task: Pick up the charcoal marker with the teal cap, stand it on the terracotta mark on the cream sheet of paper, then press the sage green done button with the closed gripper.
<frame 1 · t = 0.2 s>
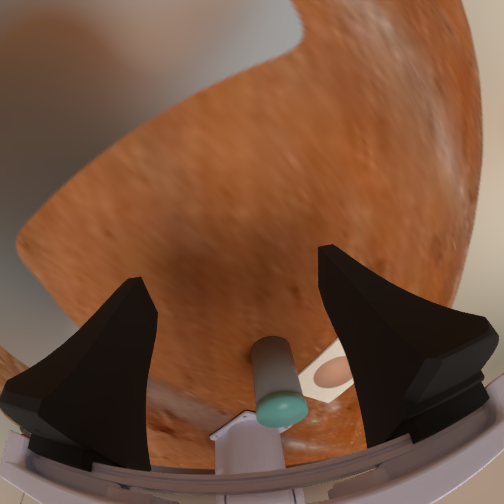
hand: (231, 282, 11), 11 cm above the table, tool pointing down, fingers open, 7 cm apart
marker: (270, 350, 26), on the table
paper: (335, 371, 29), on the table
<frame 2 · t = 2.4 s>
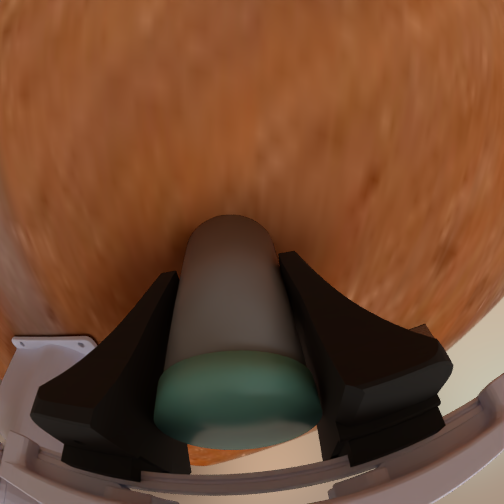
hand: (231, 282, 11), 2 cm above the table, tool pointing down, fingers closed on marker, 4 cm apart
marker: (230, 255, 13), on the table, touching gripper
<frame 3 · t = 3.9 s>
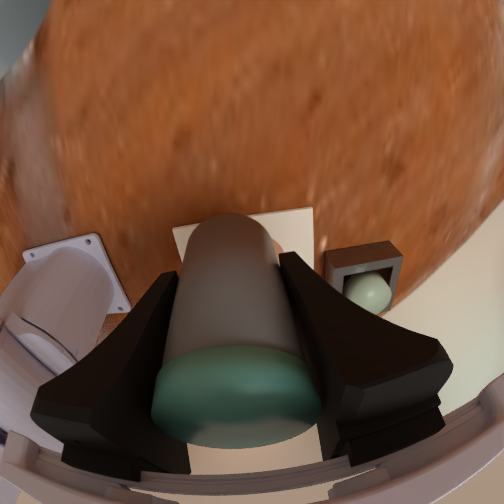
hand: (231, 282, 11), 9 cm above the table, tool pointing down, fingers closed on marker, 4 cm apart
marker: (230, 254, 13), point 7 cm above the table, touching gripper
button: (367, 293, 21), point 3 cm above the table, slide at 0.0 cm
paper: (249, 263, 21), on the table
button base: (355, 274, 23), on the table
when the fingers open (4 cm above the table, at t = 5.6 s): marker drops 1 cm, resting on paper.
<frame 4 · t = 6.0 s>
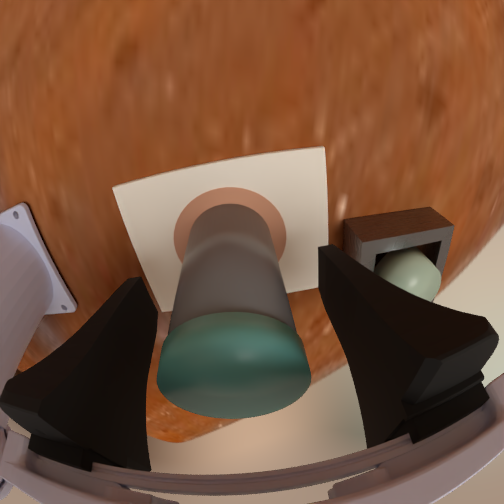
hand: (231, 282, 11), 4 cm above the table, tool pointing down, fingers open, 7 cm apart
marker: (229, 241, 13), resting on paper
button: (406, 282, 13), point 3 cm above the table, slide at 0.0 cm
paper: (229, 238, 14), on the table
button base: (386, 256, 15), on the table
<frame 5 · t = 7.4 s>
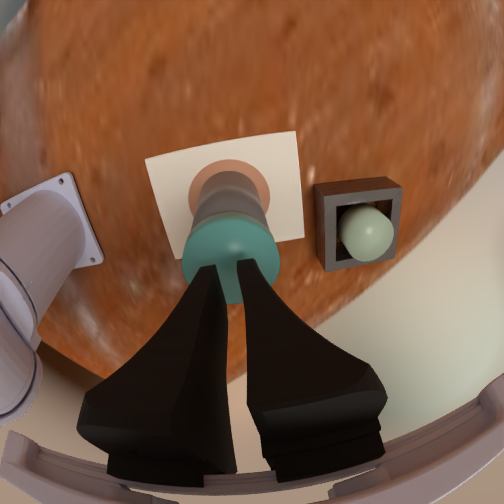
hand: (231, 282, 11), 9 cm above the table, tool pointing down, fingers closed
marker: (229, 198, 18), resting on paper
button: (365, 232, 18), point 3 cm above the table, slide at 0.0 cm
paper: (229, 197, 19), on the table
button base: (351, 216, 20), on the table
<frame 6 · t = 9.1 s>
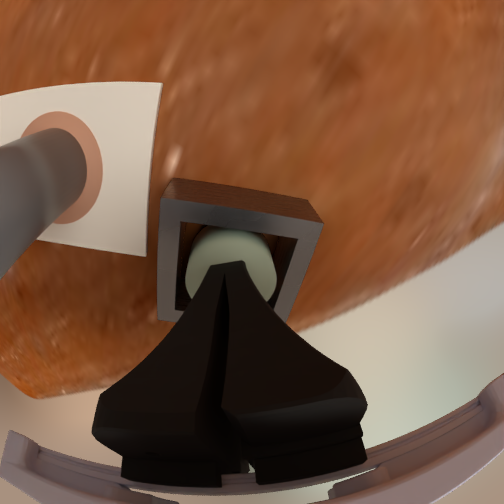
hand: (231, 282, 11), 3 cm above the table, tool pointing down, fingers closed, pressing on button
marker: (52, 169, 10), resting on paper
button: (230, 268, 12), point 2 cm above the table, slide at 0.8 cm, touching gripper
paper: (56, 168, 10), on the table
button base: (229, 247, 13), on the table
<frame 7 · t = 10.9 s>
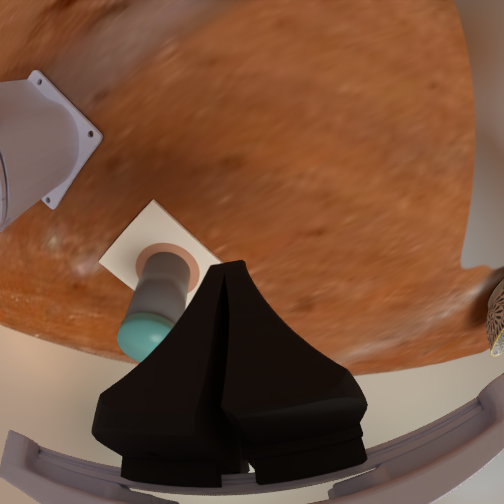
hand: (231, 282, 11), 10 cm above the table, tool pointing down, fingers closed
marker: (167, 272, 22), resting on paper
bowl: (499, 291, 31), on the table
paper: (167, 269, 23), on the table
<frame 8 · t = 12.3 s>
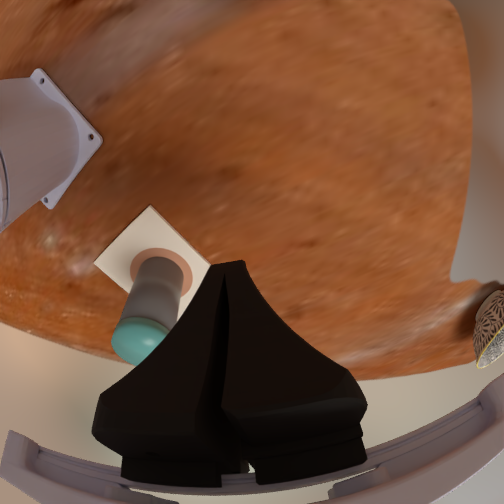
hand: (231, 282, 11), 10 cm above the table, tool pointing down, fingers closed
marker: (160, 276, 23), resting on paper
bowl: (488, 304, 33), on the table
paper: (161, 273, 23), on the table
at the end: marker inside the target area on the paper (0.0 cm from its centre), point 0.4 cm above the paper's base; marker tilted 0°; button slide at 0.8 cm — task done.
